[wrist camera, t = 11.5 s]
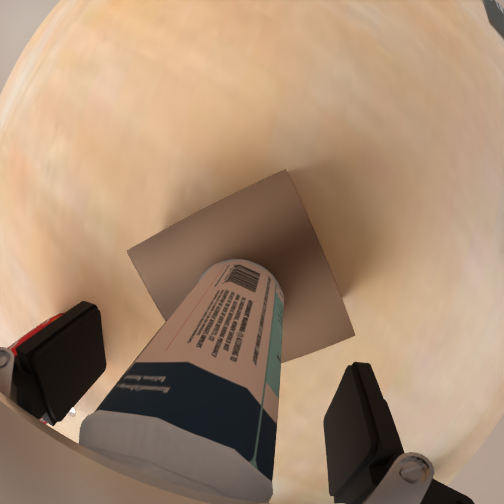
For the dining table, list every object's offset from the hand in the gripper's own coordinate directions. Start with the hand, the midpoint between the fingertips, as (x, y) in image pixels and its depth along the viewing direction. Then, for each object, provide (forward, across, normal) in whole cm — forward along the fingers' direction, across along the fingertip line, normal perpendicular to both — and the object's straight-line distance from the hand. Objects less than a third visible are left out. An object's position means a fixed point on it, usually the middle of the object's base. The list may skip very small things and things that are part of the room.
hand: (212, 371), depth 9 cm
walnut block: (+11, 0, 0) cm, 11 cm away
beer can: (+6, 0, 0) cm, 7 cm away
